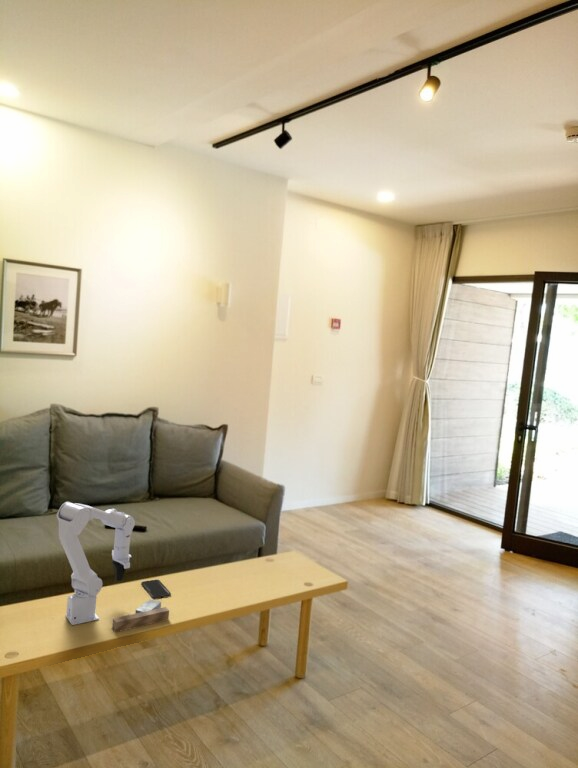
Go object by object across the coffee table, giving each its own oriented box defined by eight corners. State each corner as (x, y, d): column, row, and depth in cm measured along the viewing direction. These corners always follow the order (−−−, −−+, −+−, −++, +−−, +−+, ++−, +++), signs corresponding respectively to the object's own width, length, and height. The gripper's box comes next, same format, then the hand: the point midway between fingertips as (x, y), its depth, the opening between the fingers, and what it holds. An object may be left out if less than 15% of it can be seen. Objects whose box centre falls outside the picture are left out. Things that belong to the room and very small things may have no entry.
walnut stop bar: (115, 632, 192) (116, 622, 192) (112, 628, 194) (112, 618, 194) (168, 619, 204) (169, 610, 204) (164, 615, 207) (165, 606, 206)
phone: (158, 579, 236) (171, 594, 223) (158, 581, 236) (171, 596, 223) (140, 582, 231) (152, 597, 219) (140, 584, 231) (152, 600, 219)
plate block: (147, 621, 202) (147, 613, 202) (135, 617, 204) (135, 610, 203) (160, 609, 212) (161, 601, 212) (148, 606, 213) (149, 598, 213)
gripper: (139, 550, 208) (135, 585, 209) (125, 537, 220) (122, 571, 221) (120, 553, 204) (117, 588, 205) (107, 539, 216) (104, 573, 217)
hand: (118, 579), depth 213 cm, fingers closed
